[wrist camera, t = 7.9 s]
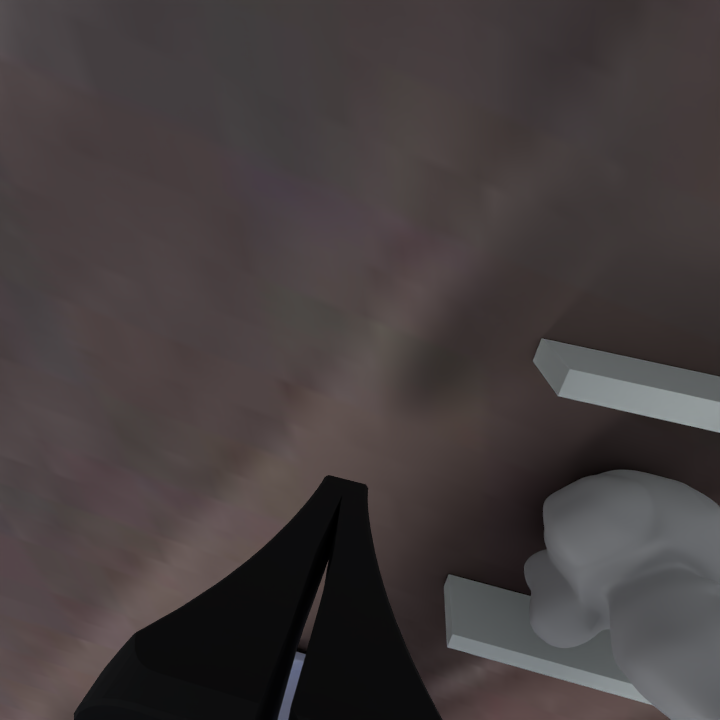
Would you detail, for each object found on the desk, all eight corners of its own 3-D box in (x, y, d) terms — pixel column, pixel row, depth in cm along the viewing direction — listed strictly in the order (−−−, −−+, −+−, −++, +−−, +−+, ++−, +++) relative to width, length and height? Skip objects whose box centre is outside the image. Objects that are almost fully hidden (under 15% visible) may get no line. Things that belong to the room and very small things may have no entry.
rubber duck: (720, 517, 13) (1082, 894, 6) (552, 587, 16) (664, 919, 8) (635, 411, 12) (939, 704, 5) (470, 503, 15) (516, 793, 7)
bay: (698, 655, 16) (745, 731, 13) (443, 586, 17) (447, 647, 14) (910, 417, 11) (1036, 471, 9) (541, 338, 12) (569, 368, 10)
